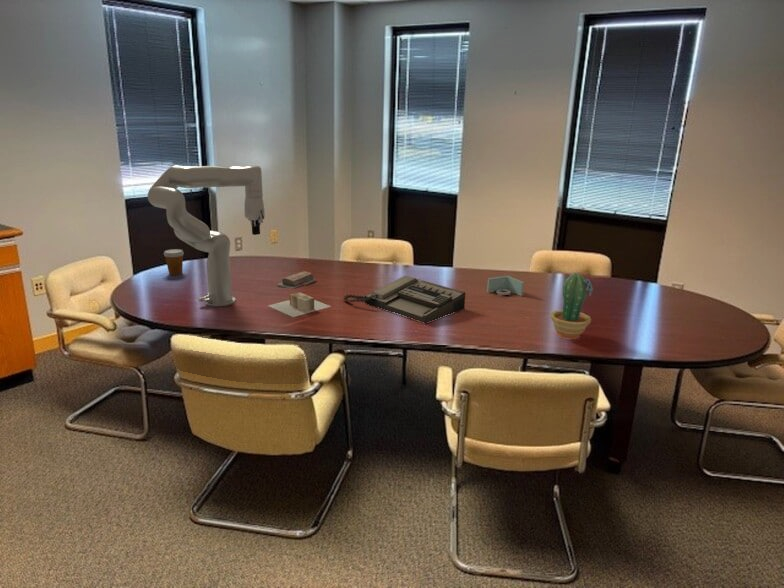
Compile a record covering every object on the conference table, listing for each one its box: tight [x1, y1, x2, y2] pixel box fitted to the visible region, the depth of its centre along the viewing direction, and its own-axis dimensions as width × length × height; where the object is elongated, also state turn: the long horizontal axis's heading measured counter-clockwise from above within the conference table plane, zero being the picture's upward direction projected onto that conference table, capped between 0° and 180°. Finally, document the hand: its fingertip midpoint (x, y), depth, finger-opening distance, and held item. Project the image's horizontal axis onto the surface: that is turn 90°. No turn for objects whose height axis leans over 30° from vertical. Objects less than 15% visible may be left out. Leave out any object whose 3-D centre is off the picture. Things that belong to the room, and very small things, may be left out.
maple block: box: [289, 291, 315, 312], centre depth 241 cm, size 5×5×11 cm
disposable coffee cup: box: [163, 248, 185, 276], centre depth 286 cm, size 10×10×12 cm
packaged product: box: [277, 270, 317, 289], centre depth 276 cm, size 18×5×10 cm
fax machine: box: [342, 275, 466, 324], centre depth 247 cm, size 45×34×10 cm
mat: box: [267, 299, 331, 318], centre depth 243 cm, size 20×19×1 cm
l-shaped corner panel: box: [486, 275, 525, 297], centre depth 266 cm, size 12×12×8 cm
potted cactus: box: [549, 273, 594, 339], centre depth 215 cm, size 15×15×25 cm
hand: (256, 234), depth 257 cm, fingers closed
